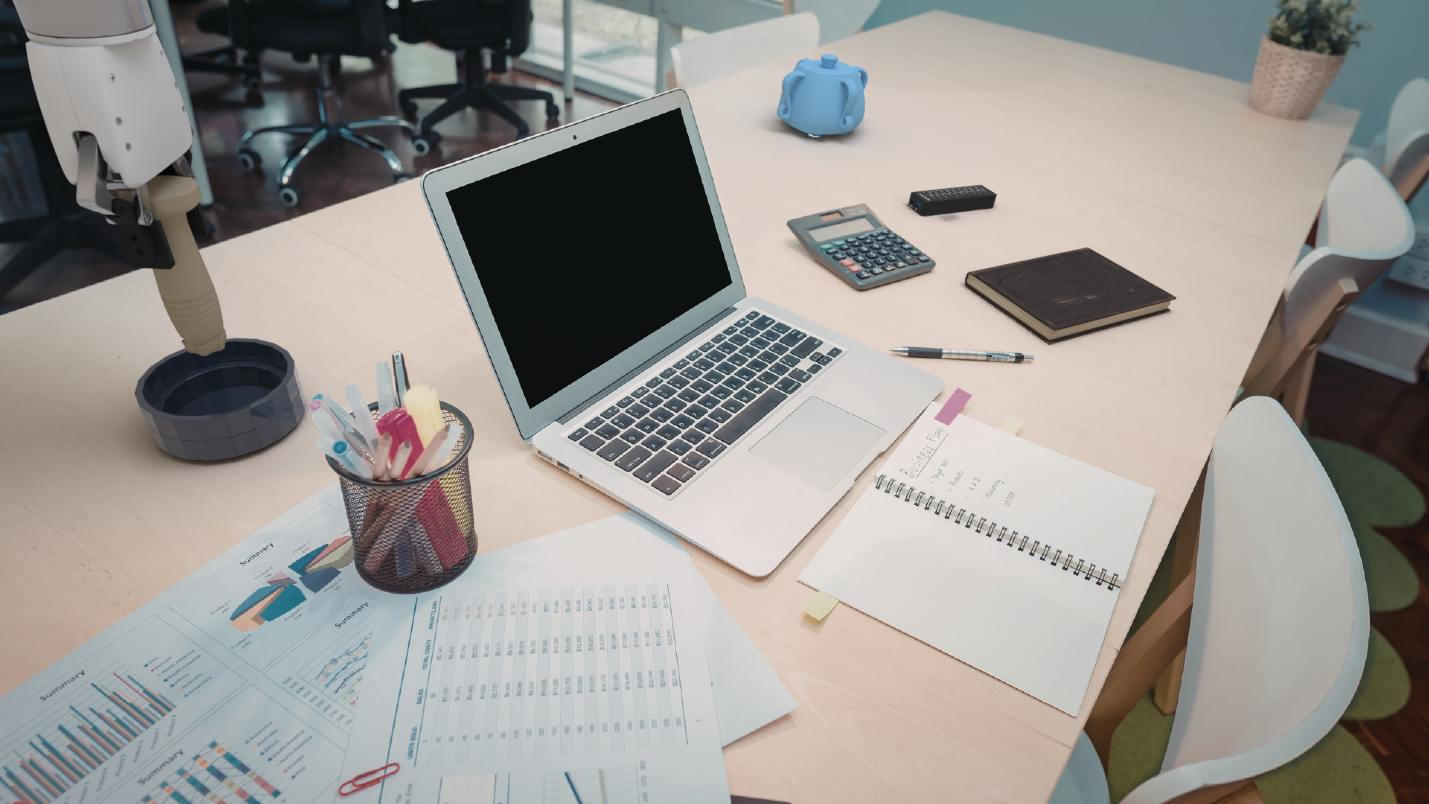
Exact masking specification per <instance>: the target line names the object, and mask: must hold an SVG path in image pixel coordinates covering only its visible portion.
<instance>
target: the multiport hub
mask: <svg viewBox="0 0 1429 804" xmlns="http://www.w3.org/2000/svg"><path fill="white" fill-rule="evenodd" d="M997 197H998V194H997V193H996V192H994V191H992V190H991V189H990V188H988V187H986V186H985V185H983V184H975V185H965V186H956V187H946V188H935V189H927V190H917V191H911V192H910V195H909V198H908V203H907V206H908V208H910V209H911V210H912V211H914V212H916V213H917V214H918V215H920V216H922V217H929V216H937V215H945V214H955V213H962V212H963V213H964V212H971V211H979V210H986V209H987V210H988V209H993V208H994V206H995V203H996V199H997Z"/></svg>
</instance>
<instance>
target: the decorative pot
mask: <svg viewBox="0 0 1429 804" xmlns="http://www.w3.org/2000/svg"><path fill="white" fill-rule="evenodd" d="M868 79H869V75H868V72H867V71H866V70H865V68H863V67H861V66H859V65H853V66H851V65H849V64H847V63H844V62H842V61H839V57H838V56H837V55H835V54H831V53H830V54H829V53H824V54H821V55H820V59H811V58H802V59H800V60H798V61H797V63H796V65H795V67H794V68H793V70H792V71H789V73H787V74H786V75H785V76H784V78H783V79H782V83H781V93H780V98H779V102H778V106H777V109H776V115H777V117H778V118H779V119H781V120H783V121H784V122H785V123H786V124H788V125H789V126H791V127H792V128H794V129H796V130H798V131H801V132H802V133H805V134H807V136H808V138H812V139H820V138H821V137H822V135H840V136H846V135H848V134H849V132H852V131H854V130H855V129H857V127H858V126H859V125H860V124H861V123H862V122H863V120H864V118H865V112H866V111H865V110H866V99H865V89H866V87H867V85H868ZM808 133H809V134H811V135H813V136H818V137H812V136H809V135H808ZM819 136H820V137H819Z"/></svg>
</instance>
